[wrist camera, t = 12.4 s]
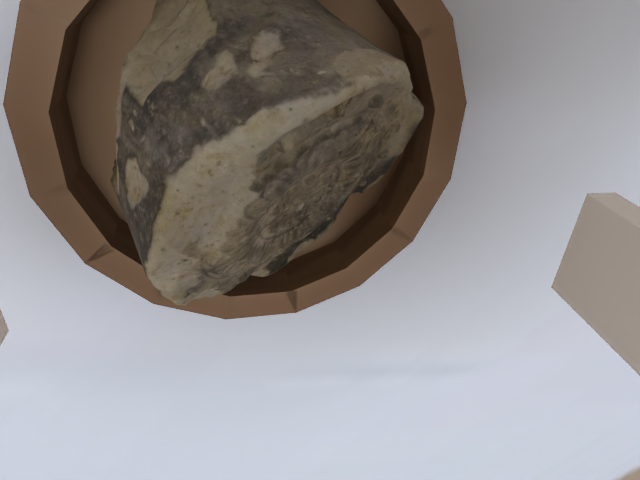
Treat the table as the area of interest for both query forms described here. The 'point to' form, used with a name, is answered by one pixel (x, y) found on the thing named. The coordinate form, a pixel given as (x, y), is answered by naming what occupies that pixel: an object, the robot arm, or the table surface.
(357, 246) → the round tray
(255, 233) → the grey brown rock
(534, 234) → the table surface
